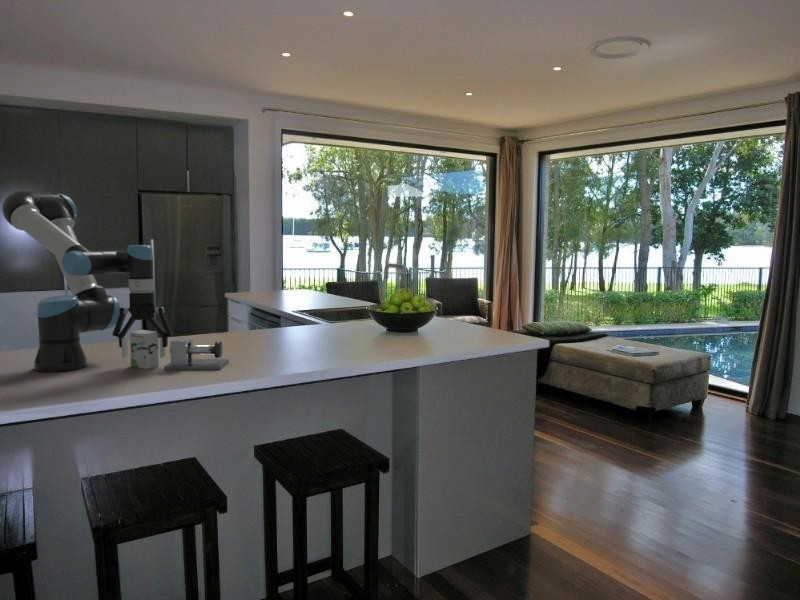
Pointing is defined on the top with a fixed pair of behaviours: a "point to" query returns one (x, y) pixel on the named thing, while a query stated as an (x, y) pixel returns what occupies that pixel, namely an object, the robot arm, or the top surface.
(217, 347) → the shaft
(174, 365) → the rail
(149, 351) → the ink box
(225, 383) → the top surface
